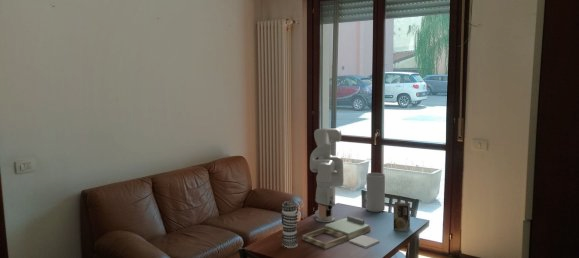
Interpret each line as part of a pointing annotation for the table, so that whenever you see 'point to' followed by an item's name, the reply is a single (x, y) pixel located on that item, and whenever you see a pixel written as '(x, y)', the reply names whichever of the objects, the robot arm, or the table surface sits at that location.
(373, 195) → the cylinder vase
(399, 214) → the coffee box
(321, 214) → the terracotta block
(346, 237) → the well frame
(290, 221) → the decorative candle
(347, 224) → the sliding lid
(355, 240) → the grey mat
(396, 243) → the table surface
